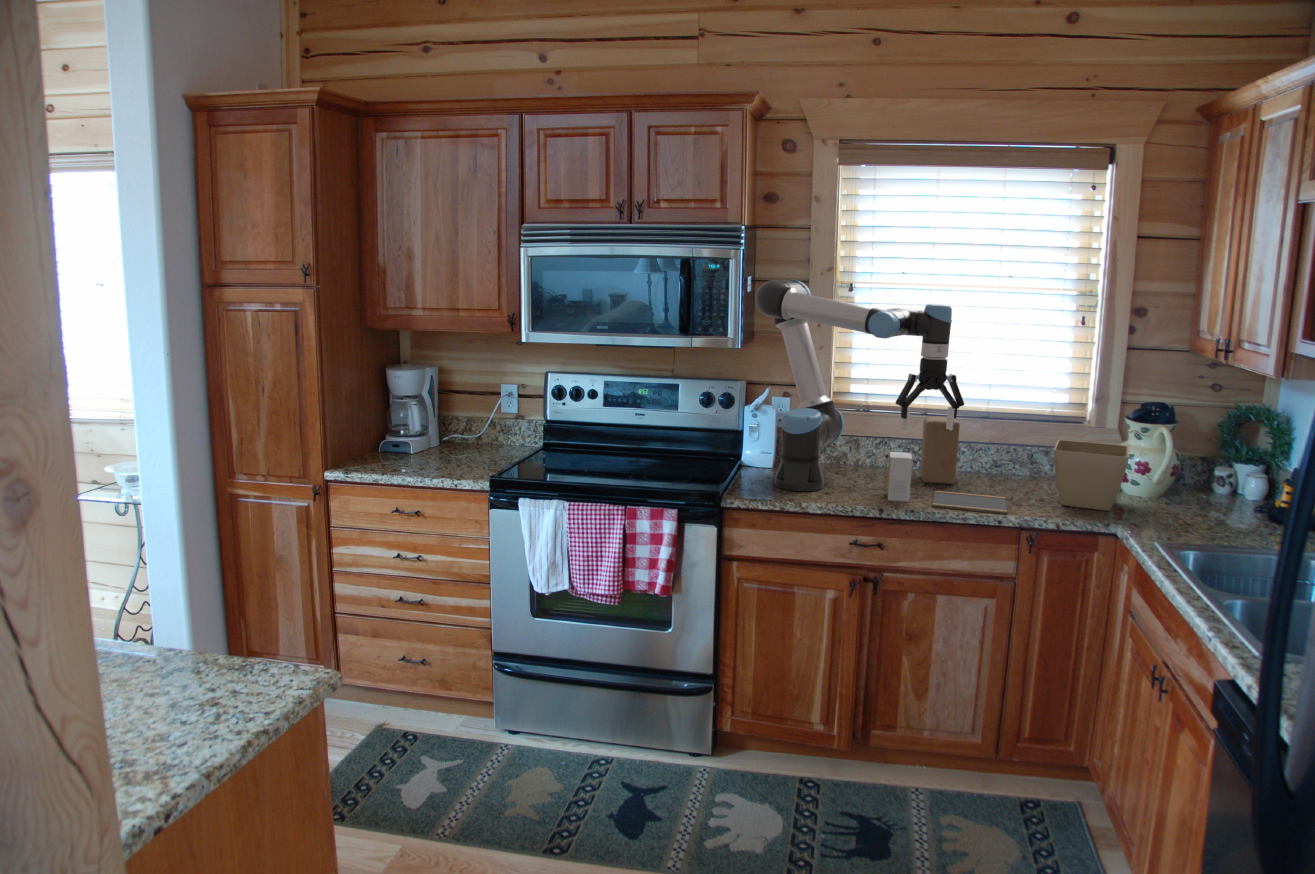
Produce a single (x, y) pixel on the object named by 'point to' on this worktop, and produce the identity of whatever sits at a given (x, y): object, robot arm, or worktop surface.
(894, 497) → the small box
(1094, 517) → the worktop surface
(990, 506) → the grey flat board
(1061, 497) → the flower pot
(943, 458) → the wooden block
